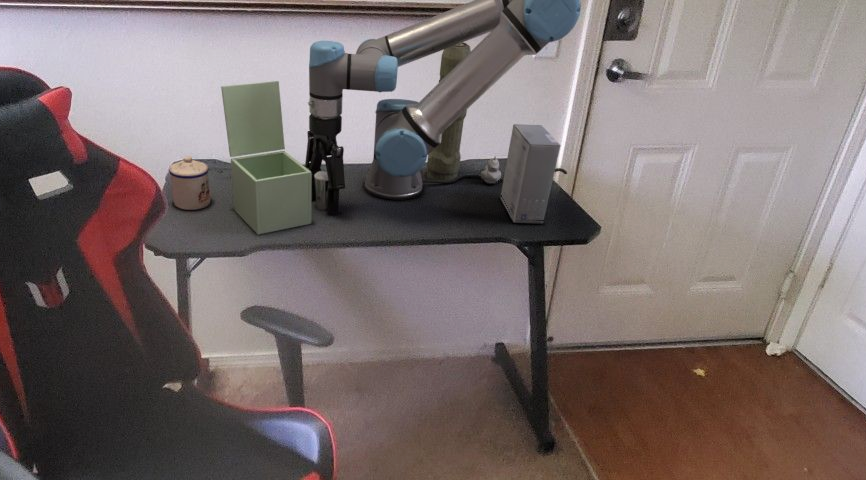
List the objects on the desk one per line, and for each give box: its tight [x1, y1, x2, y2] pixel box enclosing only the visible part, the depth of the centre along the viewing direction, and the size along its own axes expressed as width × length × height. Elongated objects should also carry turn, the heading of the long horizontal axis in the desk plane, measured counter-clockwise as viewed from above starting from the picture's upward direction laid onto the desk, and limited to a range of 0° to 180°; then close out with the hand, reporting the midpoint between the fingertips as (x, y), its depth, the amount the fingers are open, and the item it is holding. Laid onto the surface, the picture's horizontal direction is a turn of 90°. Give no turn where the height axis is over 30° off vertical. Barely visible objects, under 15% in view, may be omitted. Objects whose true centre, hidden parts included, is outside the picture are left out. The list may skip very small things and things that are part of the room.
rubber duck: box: [480, 155, 502, 185], centre depth 181 cm, size 5×7×8 cm
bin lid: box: [220, 80, 286, 158], centre depth 153 cm, size 15×14×1 cm
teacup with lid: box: [168, 155, 211, 211], centre depth 160 cm, size 12×9×12 cm
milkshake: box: [314, 170, 330, 211], centre depth 162 cm, size 4×5×10 cm
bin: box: [230, 150, 312, 235], centre depth 155 cm, size 15×14×13 cm
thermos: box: [426, 42, 472, 180], centre depth 175 cm, size 9×12×35 cm
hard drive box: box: [499, 123, 562, 224], centre depth 163 cm, size 16×8×20 cm, turn 4°
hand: (323, 205), depth 165 cm, fingers open, 9 cm apart
